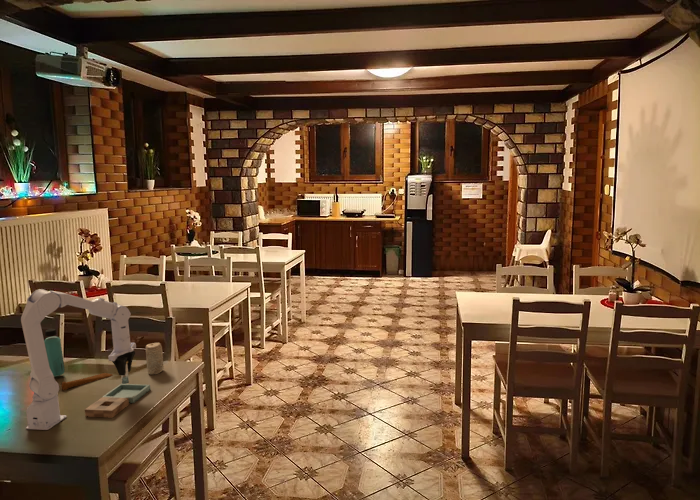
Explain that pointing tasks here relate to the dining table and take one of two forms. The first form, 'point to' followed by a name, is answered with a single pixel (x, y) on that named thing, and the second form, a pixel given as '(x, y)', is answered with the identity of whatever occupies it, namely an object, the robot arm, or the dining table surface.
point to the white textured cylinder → (154, 358)
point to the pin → (125, 377)
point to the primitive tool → (84, 380)
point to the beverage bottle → (54, 352)
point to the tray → (129, 391)
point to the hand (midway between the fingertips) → (124, 373)
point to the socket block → (106, 407)
